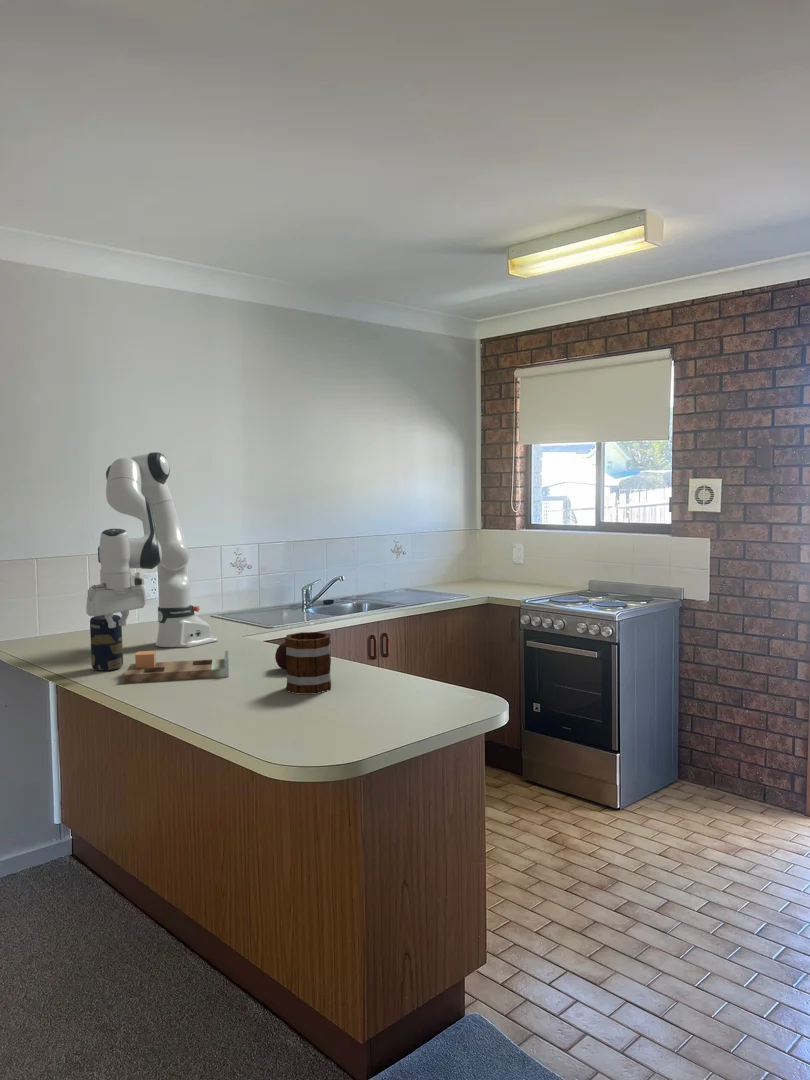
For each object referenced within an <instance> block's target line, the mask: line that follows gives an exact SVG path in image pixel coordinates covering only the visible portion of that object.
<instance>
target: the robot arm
mask: <svg viewBox="0 0 810 1080" xmlns="http://www.w3.org/2000/svg"><path fill="white" fill-rule="evenodd" d="M170 469H171V468H170V464H169V461H168V458H166V456H165V455H164V454H162V453H161V452H156V451H155V452H150V453H147V454H146V453H145V454H139V455H135V456H132V457H130V458H129V457H128V458H127V457H119V458H117V459H115V460H113V462H112V463H111V464H110V465H109V466H108V467H107V468H106V471H105V477H106V478H105V479H106V485H105V487H106V488H105V497H106V502H107V504H108V505H109V506H110V507H111V508H112V509H113V510H115V511H116V512H118V513H120V514H123V515H126V516H127V515H128V516H130V517H133V518H136V519H138V520H140V521H141V523H142V529H143V533H144V534H143V535H144V536H142V537H136V538H135V537H134V538H133V537H131V538H129V535H128V532H127V530H125V529H124V528H122V529H121V528H109V529H105V530H103V531H101V533H100V538H99V539H100V540H99V545H98V547H97V560H98V562H99V564H100V569H99V570H100V571H99V577H100V579H99V581H100V582H99V584H93V585H91V586H90V587H89V588H88V590H87V597H86V605H85V606H86V607H85V608H86V615H88V616H89V617H94V616H101V615H105V618H106V620H107V622H108V627H109V628H115V627H116V622H114V621H113V619H112V617H113V615H114V614H117V613H120V614H121V616H120V617H121V619H120V620H118V622H119V626H122V627H125V626H127V619H128V618H129V615H130V611H132V610H133V611H134V610H137V609H143V608H144V607H145V605H146V591H145V588H144V584H145V579H144V578H142V577H139V576H134V575H132V574H131V573H132V571H131V569H143V570H145V569H146V570H153V569H154V568H156V567H157V569H156V570H157V585H158V586H157V587H158V606H157V621H158V628H157V629H158V632H157V638H156V642H155V646H156V647H161V648H190V647H195V646H199V645H200V646H202V645H204V644H209V643H213V642H217V641H218V637H217V636H215V635H212V631H211V626H210V624H209V623H208V622H206V621H205V620H204V619H202V618H201V617H199V616H197V615H196V614H195V612H196V613H197V612H199V611H200V609H201V608H200V606H198V605H195V606H194V605H191V597H190V596H191V594H190V593H191V592H190V590H191V589H190V577H189V575H190V574H189V560H190V550H189V547H188V544H187V541H186V538H185V533H184V531H183V528H182V525H181V522H180V519H179V515H178V513H177V509H176V505H175V502H174V500H173V496H172V494H171V490H170V488H169V485H168V483H167V480H168V478H169V476H170V473H171V471H170Z"/></svg>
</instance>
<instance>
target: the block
mask: <svg viewBox="0 0 810 1080" xmlns="http://www.w3.org/2000/svg"><path fill="white" fill-rule="evenodd" d="M156 655H157V652H156V650H143V651H142V650H141V651H137V652H136V653H135V655H134V659H135V663H134V664H136V668H145V667H155V664H156V663H157V656H156Z"/></svg>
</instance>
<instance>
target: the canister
mask: <svg viewBox="0 0 810 1080" xmlns="http://www.w3.org/2000/svg"><path fill="white" fill-rule="evenodd" d="M112 619H113V621H114V622H116V627H115V628H109V627H108V622H107V620H106V618H105V615H101V616H91V618H90V619H89V632H90V633H89V635H90V656H91V658H90V659H91V668H92V669H94V670H95V671H111V670H116V669H119V668H121V667H122V666H123V665H124V650H123V649H124V648H123V629H122V627H123V626H119V622H118V620H120V619H121V616H120V615H118V614H113V617H112Z"/></svg>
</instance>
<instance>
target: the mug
mask: <svg viewBox="0 0 810 1080" xmlns="http://www.w3.org/2000/svg"><path fill="white" fill-rule="evenodd" d="M331 636H332V634H331V633H326V632H321V631H313V632H312V631H308V632H307V631H305V632H304V631H302V632H301V631H300V632H296V633H290V634H287V635H286V636H285V638H284V642H286V670H285V671H286V688H285V690H286V692H288V691H290V692H289V693H292V692H294V693H293V694H295V693H318V692H321V693H323V692H322V691H325V692H328V691H327V690H329V691H331V689H332V686H331V685H332V679H331V665H332V658H331V644H332V643H331ZM318 694H319V693H318Z"/></svg>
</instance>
